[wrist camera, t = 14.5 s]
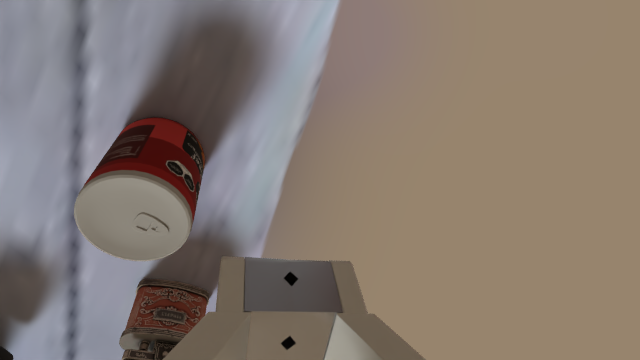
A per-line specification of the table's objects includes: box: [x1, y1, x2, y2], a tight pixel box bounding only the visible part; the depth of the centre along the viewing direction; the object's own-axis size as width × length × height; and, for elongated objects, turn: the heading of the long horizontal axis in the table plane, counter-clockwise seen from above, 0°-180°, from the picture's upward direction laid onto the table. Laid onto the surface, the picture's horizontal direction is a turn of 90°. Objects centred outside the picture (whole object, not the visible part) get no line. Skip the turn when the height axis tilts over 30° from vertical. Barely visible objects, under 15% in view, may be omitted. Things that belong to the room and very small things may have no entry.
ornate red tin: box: [119, 279, 209, 360], centre depth 43 cm, size 8×3×10 cm, turn 67°
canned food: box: [74, 117, 205, 261], centre depth 34 cm, size 8×8×11 cm
